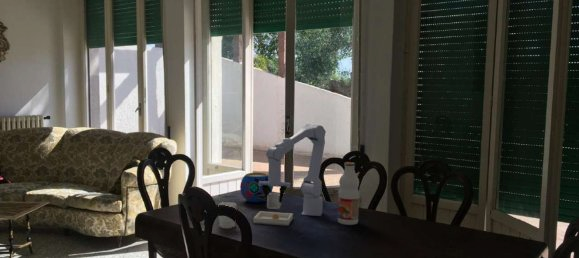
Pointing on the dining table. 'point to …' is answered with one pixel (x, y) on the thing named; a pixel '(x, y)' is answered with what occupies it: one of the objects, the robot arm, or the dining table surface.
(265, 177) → the ceramic pot
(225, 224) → the white cup
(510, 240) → the dining table surface
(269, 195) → the silver open box
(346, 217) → the fruit juice
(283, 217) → the tray
